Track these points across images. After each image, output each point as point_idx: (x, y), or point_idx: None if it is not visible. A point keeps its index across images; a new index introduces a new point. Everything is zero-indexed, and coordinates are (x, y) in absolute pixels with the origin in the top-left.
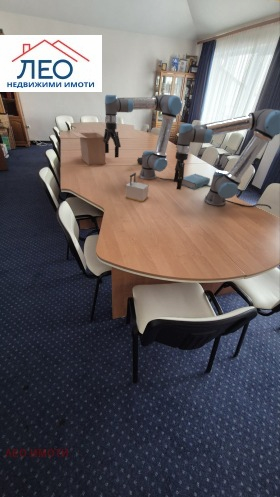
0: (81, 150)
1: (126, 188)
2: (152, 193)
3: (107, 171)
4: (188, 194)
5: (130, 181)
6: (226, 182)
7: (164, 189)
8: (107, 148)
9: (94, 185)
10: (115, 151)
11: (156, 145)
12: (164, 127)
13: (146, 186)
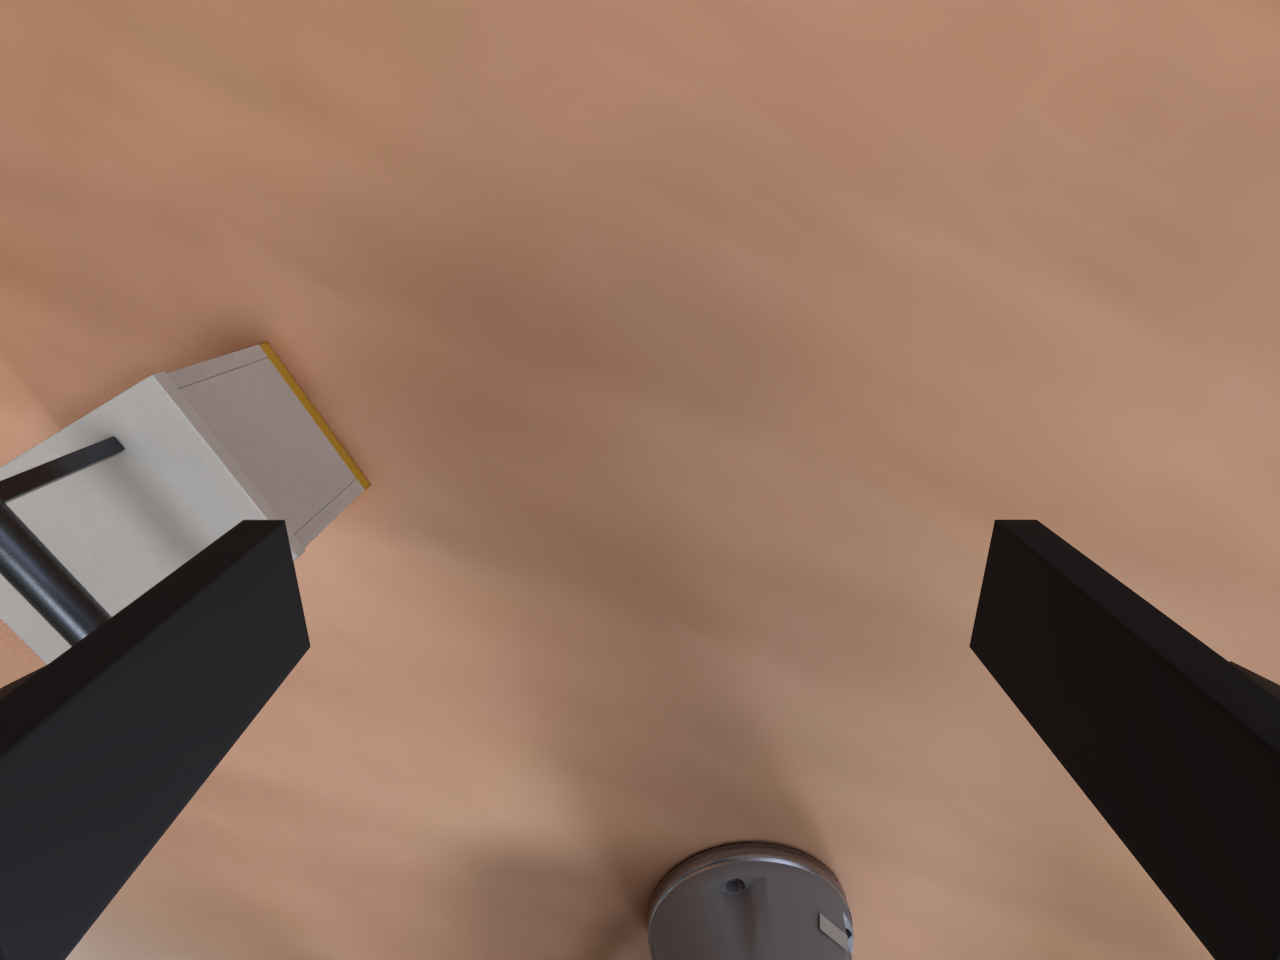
0: None
1: (176, 371)
2: (284, 694)
3: (1252, 642)
4: (141, 951)
5: (58, 458)
6: None
7: (342, 855)
8: (1082, 709)
9: (898, 165)
10: (58, 662)
11: None
12: None
13: (5, 622)
